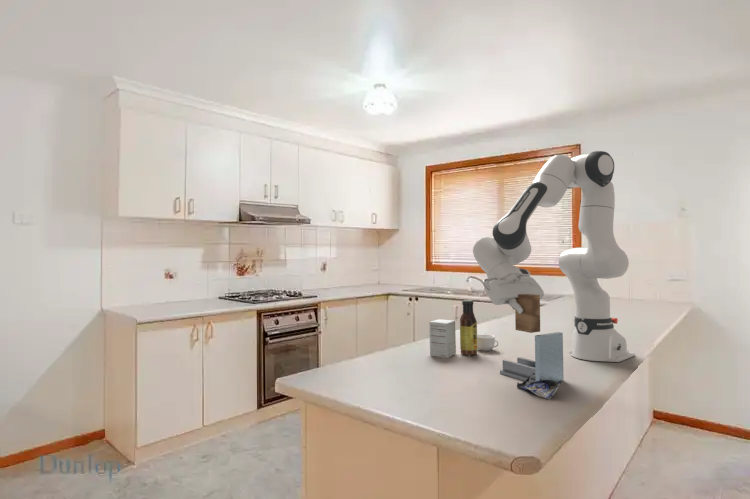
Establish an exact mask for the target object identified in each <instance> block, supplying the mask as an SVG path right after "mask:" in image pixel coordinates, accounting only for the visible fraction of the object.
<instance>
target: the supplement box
mask: <svg viewBox="0 0 750 499" xmlns="http://www.w3.org/2000/svg"><path fill="white" fill-rule="evenodd" d="M428 322H429V355H430V356H432V357H437V358H445V359H446V358H447V359H448V358H450V357H452V356H454V355H456V353H457V346H456V344H457V342H456V338H457V337H456V320H453V319H442V318H441V319H439V318H438V319H435V320H432V321H428Z"/></svg>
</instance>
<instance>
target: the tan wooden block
mask: <svg viewBox="0 0 750 499" xmlns="http://www.w3.org/2000/svg"><path fill="white" fill-rule="evenodd" d="M518 296H519V297H518V298H516V300H517V303H518V304H519V305H520V306H523V307H524V308H525V312H524V313H521V314H519V313H518V312H517V310H515V309H514V311H515V312H514V315H515V324H514V325H515V331H520V332H525V333H530V334H533V333H540V332H541V299H540V295H535V294H518Z"/></svg>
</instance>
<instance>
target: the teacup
mask: <svg viewBox="0 0 750 499" xmlns="http://www.w3.org/2000/svg"><path fill="white" fill-rule="evenodd" d="M495 342H496V343H497V344H496V343H495ZM498 346H499V341H498V340H497V339H496V336H495V335H493V334H487V333H485V334H482V333H481V334H480V333H479V334H478V333H477V350H479V351H481V352H490V351H492V350H493V349H494V348H497V347H498Z"/></svg>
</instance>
